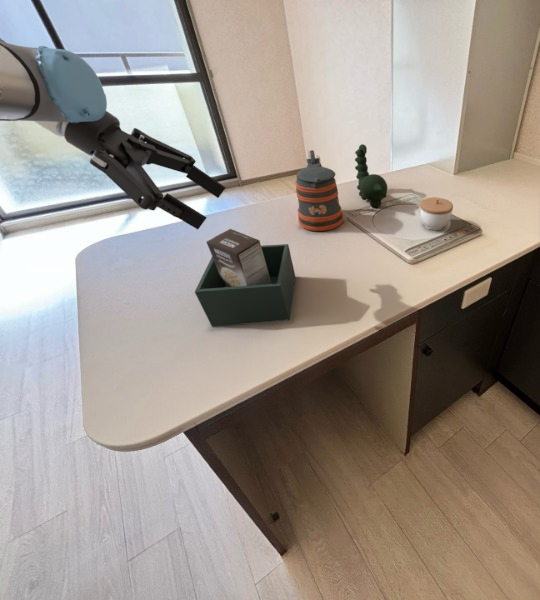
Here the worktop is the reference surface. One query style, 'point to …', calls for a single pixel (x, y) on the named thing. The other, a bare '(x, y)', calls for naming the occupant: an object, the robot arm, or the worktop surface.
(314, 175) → the beer stein
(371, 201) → the toy figurine
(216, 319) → the waste bin
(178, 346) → the worktop surface
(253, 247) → the coffee box
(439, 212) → the trinket box
